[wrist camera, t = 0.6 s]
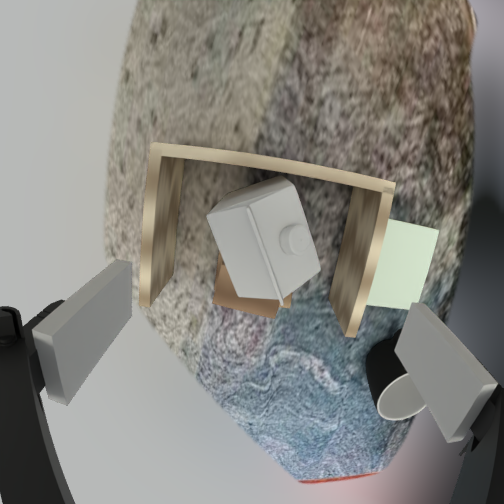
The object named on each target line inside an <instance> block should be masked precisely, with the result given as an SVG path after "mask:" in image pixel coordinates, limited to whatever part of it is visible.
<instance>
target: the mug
mask: <svg viewBox="0 0 504 504" xmlns="http://www.w3.org/2000/svg"><path fill="white" fill-rule="evenodd" d="M402 329H403V328H401V329H399V330H397V331H396V333H395V334H394V336H393V338H392V339H389V340H385V341H382V342H380V343H378V344H377V345H376V346H375V347H373V349H372V350H371V351H370V353H369V355H368V357H367V361H366V373H367V379H368V384H369V388H370V391H371V395H372V398H373V401H374V404H375V407H376V409H377V411H378V413H379V414H380V416H382V417H383V418H385V419H388V420H402V419H405V418H408V417H411V416H413V415H415V414H416V413H418V412H420V411H421V410H422V409H423V408H425V407H426V406H427V405H426V403H425V401H424V400H423V398H422V396H421V395H420V393H419V391H418V389H417V388H416V386H415V384H414V383H413V381H412V379H411V377H410V376H409V374H408V372H407V371H406V369H405V367H404V366H403V364H402V363H401V361H400V359H399V358H398V356H397V354H396V353H395V351H394V350H395V347H396V345H397V342H398V339H399V337H400V334H401V331H402Z"/></svg>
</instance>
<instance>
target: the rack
mask: <svg viewBox="0 0 504 504" xmlns="http://www.w3.org/2000/svg"><path fill="white" fill-rule="evenodd" d="M185 158H186V159H195V160H203V161H211V162H219V163H226V164H233V165H240V166H247V167H254V168H260V169H266V170H272V171H278V172H284V173H290V174H296V175H301V176H307V177H312V178H317V179H322V180H327V181H332V182H337V183H342V184H347V185H352V186H353V190H352V196H351V201H350V206H349V211H348V216H347V220H346V225H345V230H344V234H343V239H342V243H341V248H340V252H339V256H338V261H337V265H336V269H335V273H334V277H333V281H332V285H331V289H330V293H329V297H328V299H329V301H330V303H331V306H332V308H333V310H334V312H335V315H336V317H337V319H338V321H339V324H340V326H341V328H342V331H343V333H344V335H345V337H356V334H357V331H358V328H359V325H360V322H361V319H362V316H363V312H364V309H365V306H366V303H367V299H368V296H369V292H370V289H371V286H372V282H373V279H374V275H375V271H376V268H377V264H378V260H379V256H380V252H381V248H382V244H383V240H384V236H385V232H386V228H387V223H388V219H389V214H390V210H391V205H392V200H393V195H394V190H395V185H396V183H394V182H391V181H387V180H382V179H378V178H374V177H370V176H366V175H361V174H357V173H353V172H348V171H343V170H339V169H334V168H329V167H324V166H319V165H314V164H309V163H304V162H298V161H293V160H287V159H281V158H275V157H269V156H263V155H257V154H250V153H243V152H236V151H229V150H221V149H214V148H205V147H197V146H187V145H178V144H167V143H155V142H151V145H150V152H149V160H148V169H147V178H146V188H145V198H144V210H143V223H142V238H141V256H140V285H139V306H144V307H149V308H150V307H151V305H152V304H153V302H154V301H155V299H156V298H157V296H158V295H159V294H160V292H161V291H162V289H163V288H164V287H165V285H166V284H167V282H168V281H169V279H170V278H171V277H172V275H173V269H174V256H175V245H176V234H177V224H178V214H179V205H180V196H181V187H182V179H183V171H184V164H185Z"/></svg>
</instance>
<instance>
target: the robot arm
mask: <svg viewBox="0 0 504 504" xmlns="http://www.w3.org/2000/svg"><path fill="white" fill-rule="evenodd" d="M131 316H132V262H129V261H124V260H118V259H117V260H116V261H114V262H113V263H112V264H110V265H109V266H108V267H107V268H106V269H104V270H103V271H102V272H100V273H99V274H98V275H96V276H95V277H94V278H93V279H92V280H90V281H89V282H88V283H86V284H85V285H84V286H83V287H82V288H80V289H79V290H78V291H77V292H75V293H74V294H73V295H72V296H71V297H69V298H68V299H67V300H66V301H65V300H59V301H57V302H54V303H51V304H50V305H48V306H47V307H46V308H45V309H43V312H42V311H41V312H40V313H39V314H37V316H36V317H34V318H33V319H31V320H30V321H29V322H28V323H27V324H25V325H24V326H22V320H21V315H20V312H19V311H18V310H17V309H15V308H13V307H9V306H2V307H0V494H1V498H2V502H3V504H75V502H74V500H73V497H72V495H71V492H70V490H69V487H68V485H67V482H66V479H65V477H64V474H63V471H62V469H61V466H60V463H59V460H58V457H57V454H56V451H55V448H54V444H53V441H52V438H51V435H50V431H49V427H48V424H47V420H46V416H45V412H44V408H43V404H42V400H41V396H40V392H41V390H42V389H43V388H44V387H46V391H47V394H48V397H49V399H51V400H54V401H56V402H59V403H61V404H64V405H66V406H67V405H68V404H69V403H70V401H71V400H72V398H73V397H74V396H75V394H76V393H77V391H78V390H79V388H80V387H81V385H82V384H83V383H84V381H85V380H86V378H87V377H88V375H89V374H90V373H91V371H92V370H93V368H94V367H95V365H96V364H97V363H98V361H99V360H100V358H101V357H102V356H103V354H104V353H105V352H106V350H107V348H108V347H109V346H110V345H111V343H112V342H113V341H114V339H115V338H116V336H117V335H118V334H119V332H120V331H121V330H122V328H123V327H124V326H125V324H126V323H127V322H128V320H129V319H130V318H131ZM394 351H395V353H396V354H397V356H398V358H399V359H400V361H401V363H402V364H403V366H404V367H405V369H406V371H407V372H408V374H409V376H410V377H411V379H412V381H413V383H414V384H415V386H416V388H417V389H418V391H419V393H420V395H421V396H422V398H423V400H424V401H425V403H426V405H427V407H428V408H429V410H430V412H431V414H432V415H433V417H434V419H435V421H436V423H437V424H438V426H439V428H440V430H441V432H442V434H443V436H444V437H445V439H446V441H447V443H449V442H455V441H460V440H462V439H463V438H464V437H465V435H466V434H467V432H468V430H469V429H471V430H472V432H473V434H474V435H473V436H472V437H471V439H470V440H469V442H468V443H467V444H466V446H465V447H464V448H463V450H462V451H461V452H460V454H459V455H460V456H461V455H462V454H463V453H464V452H466V454H465V458H464V461H463V465H462V468H461V471H460V474H459V478H458V481H457V484H456V487H455V490H454V492H453V496H452V498H451V501H450V503H449V504H504V388H502V386H501V385H500V384H499V383H498V382H497V381H496V379H495V378H494V377H493V376H492V375H491V374H490V372H488V370H487V369H486V368H485V367H484V366H483V364H482V363H481V362H480V361H479V360H478V359H477V358H476V357H475V356H473V354H472V353H471V352H470V351H469V350H468V349H467V348H466V347H465V346H464V345H463V343H462V342H461V341H460V340H459V339H458V338H457V337H456V336H455V335H454V334H453V333H452V332H451V331H450V330H449V329H448V327H447V326H446V325H445V324H444V323H443V322H442V321H441V320H440V319H439V318H438V317H437V316H436V315H435V314H434V313H433V312H432V311H431V310H430V309H429V308H428V307H427V306H426V305H425V304H424V303H415V302H412V303H411V306H410V309H409V312H408V315H407V318H406V320H405V323H404V326H403V329H402V331H401V334H400V337H399V339H398V342H397V345H396V347H395V350H394Z"/></svg>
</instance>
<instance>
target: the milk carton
mask: <svg viewBox="0 0 504 504" xmlns="http://www.w3.org/2000/svg"><path fill="white" fill-rule="evenodd" d="M206 216H207V220H208V222H209V225H210V228H211V230H212V233H213V235H214V238H215V240H216V243H217V245H218V248H219V250H220V253H221V255H222V258H223V261H224V263H225V266H226V268H227V271H228V273H229V275H230V278H231V280H232V283H233V285H234V288H235V290H236V293H237V295H238V297H246V298H261V299H278V300H279V301H280V304H281V306H283V305H284V303H283V299H284V298H285V297H286V296H288V295H289V294H290V293H292V292H293V291H294V290H296V289H297V288H298V287H300V286H301V285H302V284H304V283H305V282H306V281H308V280H309V279H310V278H312V277H313V276H314V275H316V274H317V273H318V272H319V271H321V267H320V263H319V259H318V256H317V252H316V249H315V246H314V243H313V239H312V236H311V233H310V230H309V227H308V224H307V220H306V217H305V214H304V211H303V208H302V205H301V202H300V199H299V196H298V193H297V191H296V188H295V186H294V185H293V184H292V183H291V182H290V181H289V180H287V179H286V178H285V177H284V176H282V175H279V176H276V177H273V178H271V179H268V180H265V181H262V182H259V183H256V184H253V185H250V186H247V187H245V188H242V189H239V190H236V191H233V192H231V193H228V194H226V195H225V196H224V197H223V198H222V199H221V200H220V202H219V203H218V204H217V205H216V206H215V207H214V208H213V209H212V210H211V211H210V212H209V213H208V214H207V215H206Z"/></svg>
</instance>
